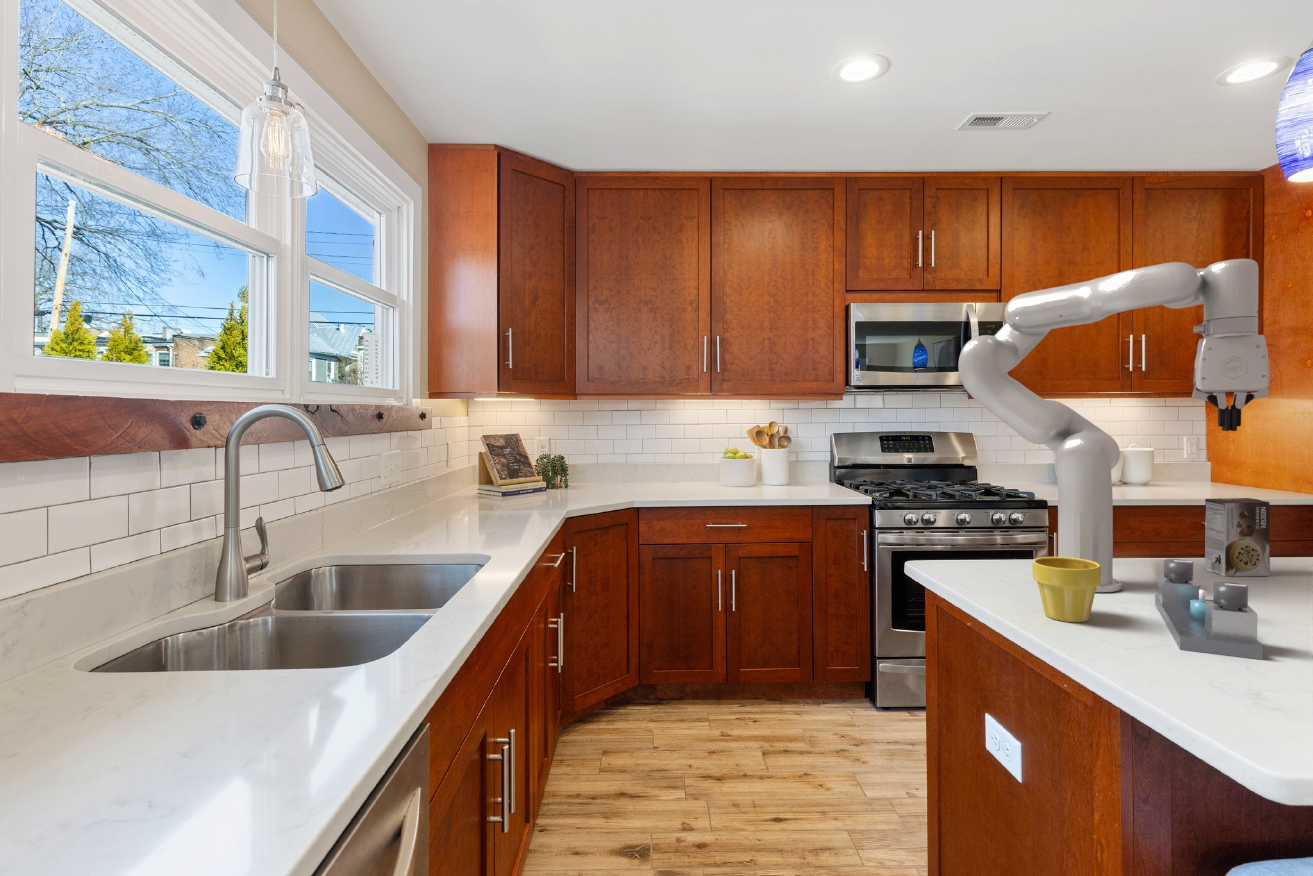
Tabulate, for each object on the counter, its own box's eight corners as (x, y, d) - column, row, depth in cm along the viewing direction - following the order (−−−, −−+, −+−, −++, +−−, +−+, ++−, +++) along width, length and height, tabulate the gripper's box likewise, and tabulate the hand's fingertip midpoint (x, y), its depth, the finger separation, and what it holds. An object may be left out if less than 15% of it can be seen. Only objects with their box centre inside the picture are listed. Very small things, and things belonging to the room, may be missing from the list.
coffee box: (1247, 569, 149) (1248, 497, 148) (1271, 576, 143) (1272, 501, 142) (1203, 569, 150) (1203, 497, 149) (1224, 576, 144) (1225, 501, 143)
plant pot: (1019, 613, 121) (1019, 559, 121) (1058, 605, 125) (1058, 553, 125) (1074, 629, 112) (1074, 571, 111) (1114, 621, 116) (1115, 564, 115)
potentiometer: (1192, 618, 110) (1192, 591, 110) (1188, 613, 113) (1188, 586, 113) (1215, 620, 109) (1215, 593, 108) (1211, 615, 111) (1211, 588, 111)
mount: (1179, 649, 102) (1180, 610, 102) (1155, 605, 124) (1155, 573, 124) (1262, 659, 97) (1262, 618, 97) (1221, 611, 120) (1221, 578, 119)
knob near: (1216, 632, 102) (1216, 585, 102) (1210, 625, 105) (1210, 580, 105) (1250, 636, 100) (1251, 588, 100) (1243, 628, 103) (1244, 582, 103)
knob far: (1165, 602, 118) (1166, 562, 118) (1162, 596, 121) (1162, 557, 121) (1194, 605, 116) (1195, 564, 116) (1190, 599, 119) (1190, 559, 119)
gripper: (1182, 331, 122) (1181, 431, 123) (1291, 324, 115) (1290, 431, 116) (1175, 334, 129) (1174, 430, 130) (1278, 328, 121) (1277, 429, 122)
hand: (1229, 430), depth 123 cm, fingers closed
